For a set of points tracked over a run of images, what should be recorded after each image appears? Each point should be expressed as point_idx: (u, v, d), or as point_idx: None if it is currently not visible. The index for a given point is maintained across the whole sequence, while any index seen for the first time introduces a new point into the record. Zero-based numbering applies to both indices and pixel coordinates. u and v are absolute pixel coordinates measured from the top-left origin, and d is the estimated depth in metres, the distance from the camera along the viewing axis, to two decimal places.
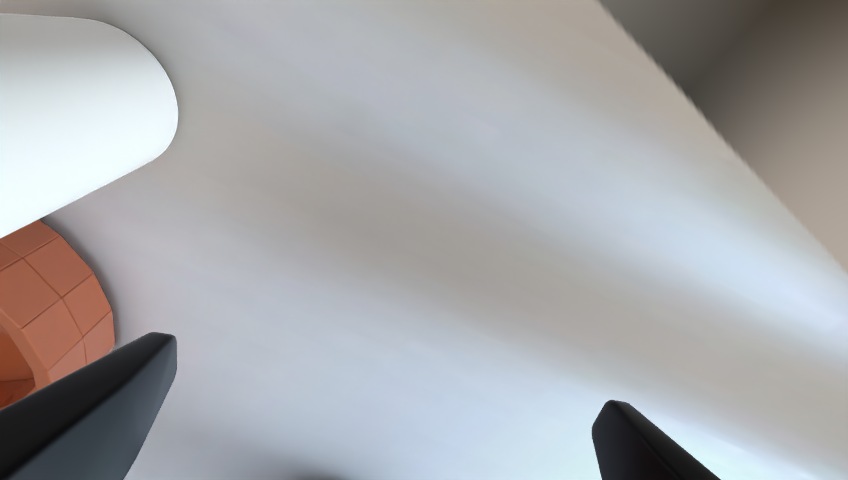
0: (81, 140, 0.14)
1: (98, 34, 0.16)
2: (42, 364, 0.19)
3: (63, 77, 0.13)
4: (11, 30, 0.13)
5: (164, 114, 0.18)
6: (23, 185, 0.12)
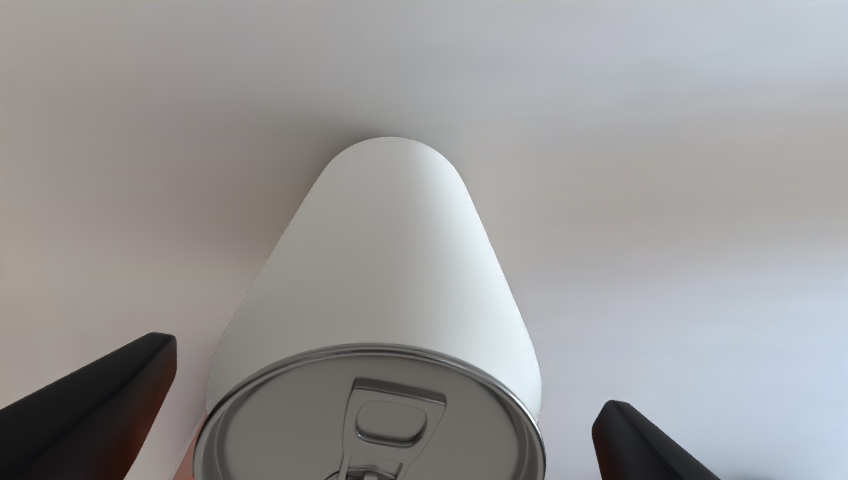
0: None
1: (393, 149, 0.14)
2: None
3: (450, 204, 0.11)
4: (382, 184, 0.10)
5: None
6: None
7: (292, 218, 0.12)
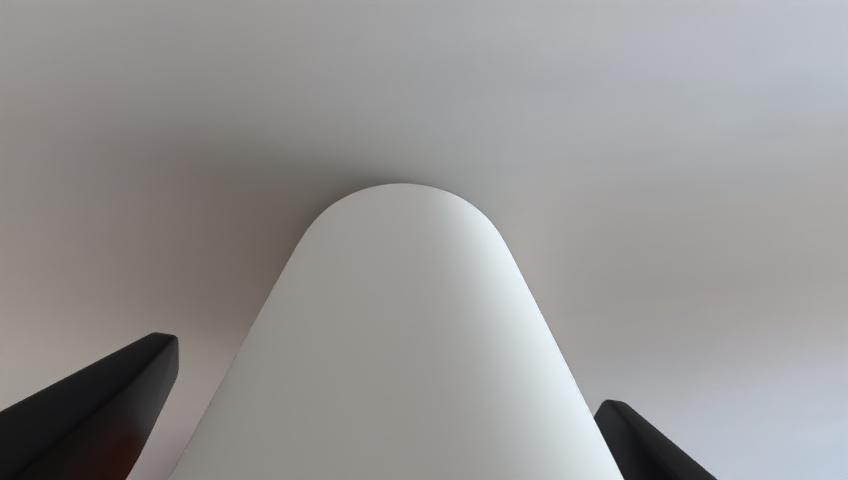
0: (612, 457, 0.06)
1: (409, 211, 0.09)
2: None
3: (524, 350, 0.06)
4: (399, 314, 0.06)
5: None
6: None
7: None
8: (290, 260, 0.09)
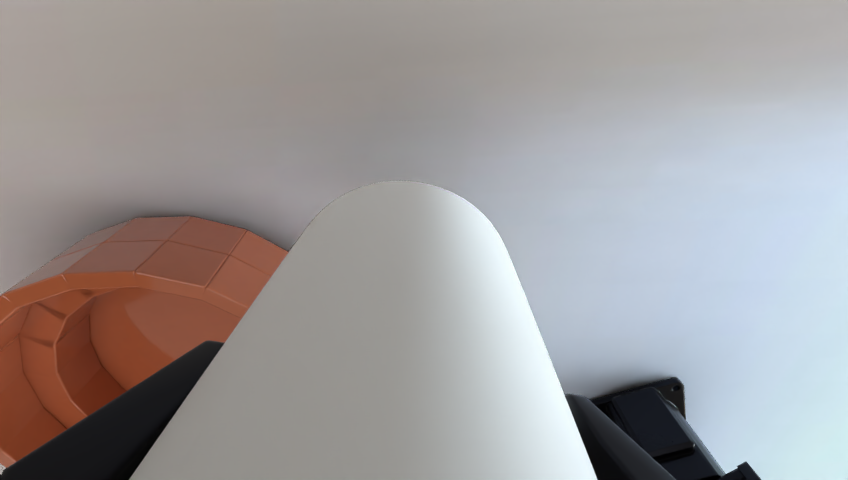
0: (584, 446, 0.06)
1: (404, 206, 0.09)
2: None
3: (497, 337, 0.06)
4: (376, 298, 0.06)
5: None
6: None
7: None
8: (289, 252, 0.10)
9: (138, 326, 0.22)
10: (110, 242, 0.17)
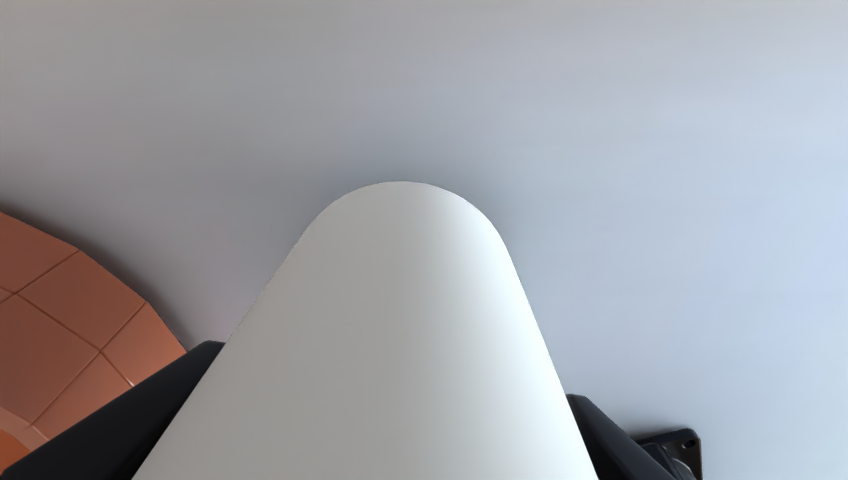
0: None
1: (404, 207, 0.09)
2: (14, 415, 0.09)
3: (499, 338, 0.06)
4: (377, 299, 0.06)
5: None
6: None
7: None
8: (289, 252, 0.10)
9: None
10: None
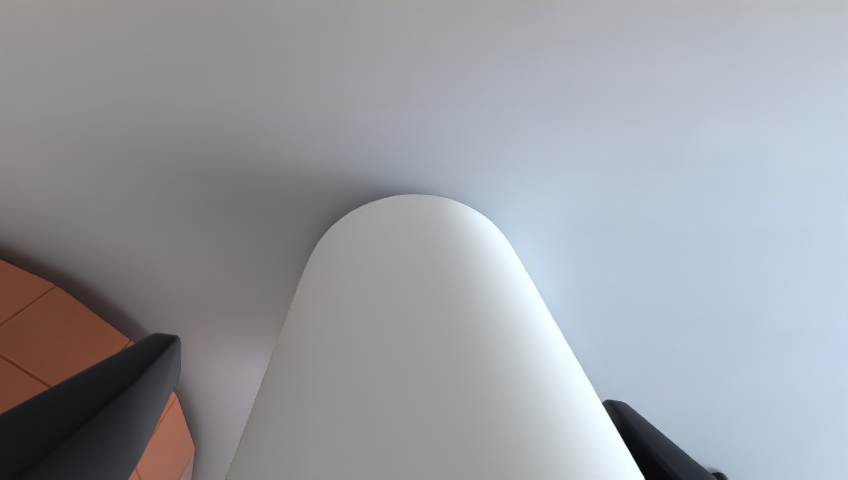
0: None
1: (427, 225, 0.09)
2: None
3: (554, 367, 0.06)
4: (436, 335, 0.06)
5: None
6: None
7: (274, 362, 0.07)
8: (309, 273, 0.10)
9: None
10: None
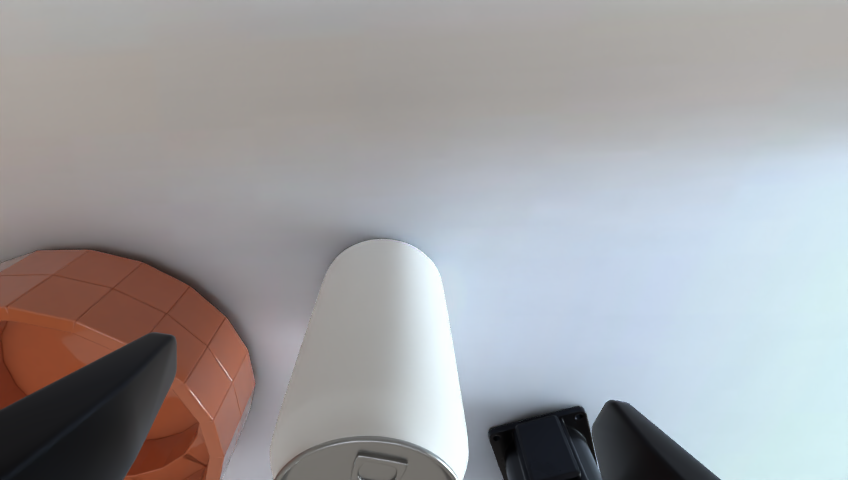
0: (452, 356, 0.16)
1: (384, 257, 0.19)
2: (176, 378, 0.18)
3: (420, 317, 0.16)
4: (376, 304, 0.16)
5: (441, 285, 0.21)
6: None
7: (314, 316, 0.17)
8: (328, 279, 0.20)
9: (48, 349, 0.23)
10: (0, 276, 0.18)
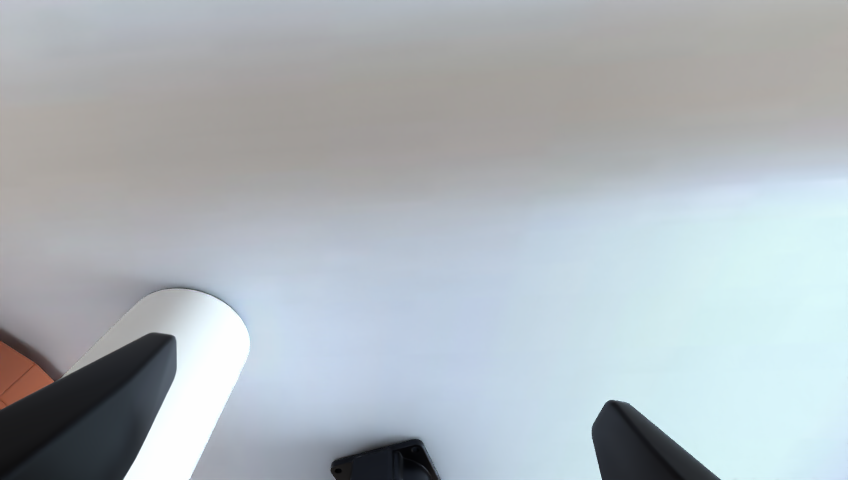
0: (182, 417, 0.17)
1: (158, 311, 0.20)
2: None
3: None
4: None
5: (232, 333, 0.22)
6: None
7: None
8: None
9: None
10: None
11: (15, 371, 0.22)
